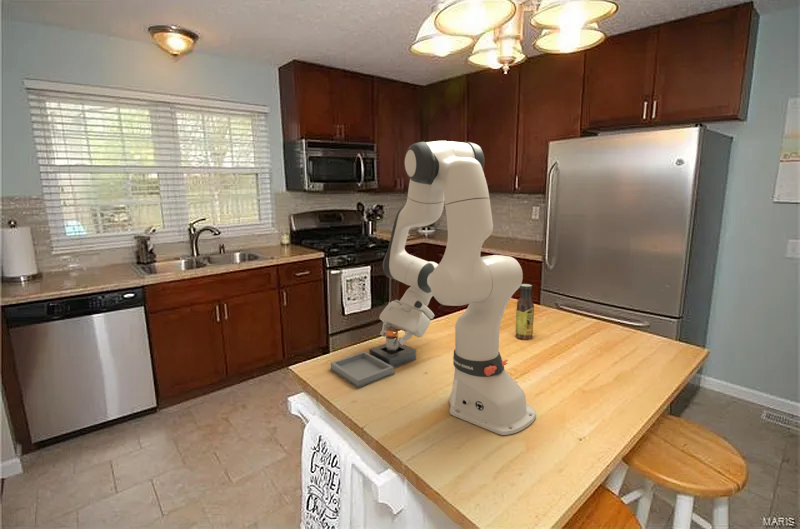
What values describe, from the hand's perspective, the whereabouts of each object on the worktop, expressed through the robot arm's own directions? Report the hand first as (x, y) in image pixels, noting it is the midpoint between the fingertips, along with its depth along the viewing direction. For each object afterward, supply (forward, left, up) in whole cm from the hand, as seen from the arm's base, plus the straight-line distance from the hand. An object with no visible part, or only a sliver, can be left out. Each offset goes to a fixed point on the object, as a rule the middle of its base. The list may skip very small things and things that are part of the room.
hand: (390, 339), depth 134 cm
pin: (0, 0, -7) cm, 7 cm away
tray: (-1, +13, -7) cm, 14 cm away
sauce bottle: (-18, -48, -7) cm, 52 cm away
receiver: (0, 0, -7) cm, 7 cm away
